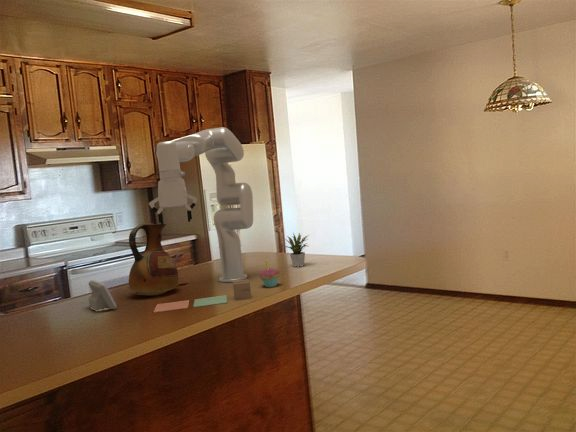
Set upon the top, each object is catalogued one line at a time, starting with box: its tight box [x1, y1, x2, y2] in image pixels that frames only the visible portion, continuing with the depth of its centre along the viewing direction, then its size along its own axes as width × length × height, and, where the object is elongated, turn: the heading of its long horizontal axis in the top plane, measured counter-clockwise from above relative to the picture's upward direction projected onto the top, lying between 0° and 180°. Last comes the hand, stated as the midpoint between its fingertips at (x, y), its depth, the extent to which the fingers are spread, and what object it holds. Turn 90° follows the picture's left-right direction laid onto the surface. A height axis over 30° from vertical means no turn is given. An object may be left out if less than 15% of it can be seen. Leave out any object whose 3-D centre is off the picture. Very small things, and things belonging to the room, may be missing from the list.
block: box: [232, 278, 252, 301], centre depth 194 cm, size 6×6×6 cm
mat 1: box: [153, 299, 190, 314], centre depth 190 cm, size 12×12×1 cm
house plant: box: [284, 232, 310, 267], centre depth 246 cm, size 14×14×16 cm
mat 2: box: [193, 294, 228, 308], centre depth 192 cm, size 12×12×1 cm
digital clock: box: [87, 279, 118, 310], centre depth 199 cm, size 16×9×11 cm, turn 25°
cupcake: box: [258, 257, 281, 288], centre depth 209 cm, size 9×8×12 cm
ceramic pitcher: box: [128, 223, 179, 296], centre depth 216 cm, size 20×20×30 cm
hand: (175, 223), depth 189 cm, fingers open, 9 cm apart
